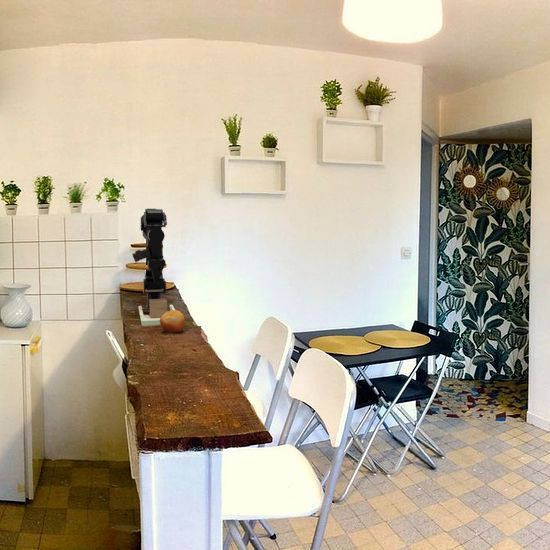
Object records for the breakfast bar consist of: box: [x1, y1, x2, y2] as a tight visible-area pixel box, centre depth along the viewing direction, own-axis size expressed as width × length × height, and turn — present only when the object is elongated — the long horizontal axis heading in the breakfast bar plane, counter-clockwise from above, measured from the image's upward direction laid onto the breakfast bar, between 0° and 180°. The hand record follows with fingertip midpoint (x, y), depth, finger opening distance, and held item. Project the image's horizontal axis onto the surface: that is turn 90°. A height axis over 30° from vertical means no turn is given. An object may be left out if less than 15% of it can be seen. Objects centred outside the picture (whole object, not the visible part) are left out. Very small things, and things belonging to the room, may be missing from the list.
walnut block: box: [148, 298, 168, 318], centre depth 188 cm, size 6×6×6 cm
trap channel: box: [138, 304, 176, 327], centre depth 189 cm, size 30×13×2 cm, turn 17°
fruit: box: [160, 309, 186, 334], centre depth 168 cm, size 8×8×8 cm
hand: (155, 282), depth 197 cm, fingers open, 2 cm apart
